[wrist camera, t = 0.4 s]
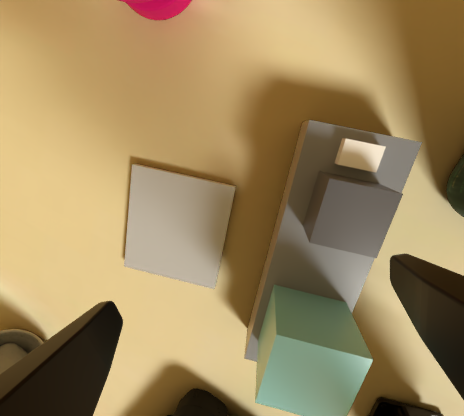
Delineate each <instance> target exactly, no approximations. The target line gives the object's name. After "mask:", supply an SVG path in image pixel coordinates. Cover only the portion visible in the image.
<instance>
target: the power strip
mask: <svg viewBox="0 0 464 416" xmlns="http://www.w3.org/2000/svg"><path fill="white" fill-rule="evenodd" d="M421 144H422V142H418V141H413V140H408V139H403V138H398V137H393V136H388V135H383V134H378V133H373V132H368V131H363V130H358V129H353V128H348V127H343V126H338V125H333V124H328V123H323V122H318V121H313V120H307V121H304V122H302V126H301V129H300V133H299V137H298V141H297V144H296V148H295V152H294V156H293V159H292V163H291V167H290V171H289V174H288V178H287V182H286V186H285V189H284V193H283V197H282V201H281V205H280V208H279V212H278V216H277V220H276V223H275V227H274V231H273V235H272V238H271V242H270V246H269V250H268V253H267V257H266V261H265V265H264V268H263V272H262V276H261V280H260V283H259V287H258V291H257V295H256V299H255V302H254V306H253V310H252V314H251V317H250V321H249V325H248V329H247V338H246V348H245V359H249V360H252V361H256V362H257V351H258V339H259V335H260V332H261V328H262V325H263V321H264V318H265V314H266V311H267V307H268V304H269V300H270V297H271V293H272V290H273V286H274V285H278V286H282V287H286V288H290V289H294V290H298V291H302V292H306V293H310V294H315V295H319V296H323V297H327V298H331V299H335V300H339V301H343V302H346V303H347V305H348V307H349V309H350V311H351V313H352V312H353V310H354V307H355V305H356V302H357V300H358V298H359V295H360V293H361V290H362V288H363V285H364V283H365V280H366V278H367V276H368V273H369V271H370V268H371V266H372V263H373V261H374V259H375V258H377V256H378V253H379V251H380V248H381V246H382V244H383V241H384V239H385V236H386V234H387V231H388V229H389V227H390V224H391V222H392V219H393V217H394V215H395V212H396V210H397V207H398V205H399V202H400V200H401V198H402V195H403V194H402V190H403V188H404V185H405V183H406V180H407V178H408V176H409V173H410V171H411V168H412V166H413V163H414V161H415V159H416V156H417V154H418V151H419V149H420V146H421Z"/></svg>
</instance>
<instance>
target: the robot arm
mask: <svg viewBox="0 0 464 416" xmlns="http://www.w3.org/2000/svg"><path fill="white" fill-rule="evenodd" d="M390 281H391V284H392V286H393V288H394V290H395V292H396V294H397V296H398V298H399V299H400V301H401V303H402V305H403V307H404V308H405V310H406V312H407V314H408V316H409V318H410V319H411V321H412V323H413V325H414V327H415V329H416V330H417V332H418V334H419V335H420V337H421V338H422V340H423V342H424V343H425V345H426V346H427V347H428V349H429V350H430V352H431V353H432V355H433V356H434V358H435V359H436V361H437V362H438V363H439V365H440V366H441V368H442V369H443V371H444V372H445V374H446V375H447V376H448V378H449V379H450V381H451V382H452V384H453V385H454V387H455V388H456V390H457V391H458V392H459V394H460V395H461V397H462V398H463V400H464V276H463V275H460V274H457V273H455V272H452V271H450V270H447V269H445V268H442V267H440V266H437V265H434V264H432V263H429V262H427V261H424V260H422V259H419V258H417V257H414V256H411V255H409V254H400V255H393V256H392V257H391V258H390ZM122 326H123V319H122V317H121V315H120V313H119V311H118V309H117V307H116V305H115V304H114V302H112V301H106V302H100V303H98V304H97V305H96V306H94V307H93V308H91V309H90V310H89V311H87V312H86V313H84V314H83V315H82V316H80V317H79V318H77V319H76V320H75V321H73V322H72V323H71V324H69V325H68V326H66V327H65V328H64V329H62V330H61V331H59V332H58V333H57V334H55V335H54V336H52V337H51V338H50V339H48V340H47V341H46V342H44V343H43V344H41V345H40V346H39V347H37V348H36V349H34V350H33V351H32V352H30V353H29V354H27V355H26V356H25V357H23V358H22V359H21V360H19V361H18V362H16V363H15V364H14V365H12V366H11V367H9V368H8V369H7V370H5V371H4V372H2V373H1V374H0V416H93V414H94V411H95V408H96V406H97V403H98V400H99V398H100V395H101V393H102V390H103V387H104V385H105V382H106V379H107V377H108V374H109V371H110V368H111V364H112V361H113V358H114V354H115V351H116V347H117V343H118V340H119V336H120V333H121V329H122ZM369 416H444V415H443V414H440V413H437V412H433V411H429V410H426V409H422V408H418V407H415V406H411V405H407V404H403V403H400V402H396V401H392V400H389V399H385V398H379V399H378V400H377V401H376V403H375V405H374V407H373V409H372V411H371V413H370V415H369Z"/></svg>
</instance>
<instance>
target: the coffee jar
mask: <svg viewBox="0 0 464 416" xmlns="http://www.w3.org/2000/svg"><path fill="white" fill-rule="evenodd" d="M446 192H447V197H448V200H449V203H450V204H451V206H452V207H453V209H454V210H455V211H456V212H457V213H459V214H460V215H461V216H463V217H464V154H463V156H462V158H461V159H460V161H459V162H458V164H457V165H456V167H455V168H454V170H453V172H452V174H451V175H450V177H449V180H448V183H447V189H446Z"/></svg>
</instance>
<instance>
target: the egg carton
mask: <svg viewBox="0 0 464 416" xmlns="http://www.w3.org/2000/svg"><path fill="white" fill-rule="evenodd" d="M167 416H227V408H226V406H225V404H224V403H223V402H221V401H220V400H219V399H218V398H216V397H215V396H214V395H212V394H211V393H209V392H208V391H205V390H201V389H192V390H191V391H190V392H188V393H187V394H186V395H185V396H184V397H183V398H182V399H181V401H180V402H179V405H178V407H177V410H176V412H175V413H174V414H173V415H167Z"/></svg>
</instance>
